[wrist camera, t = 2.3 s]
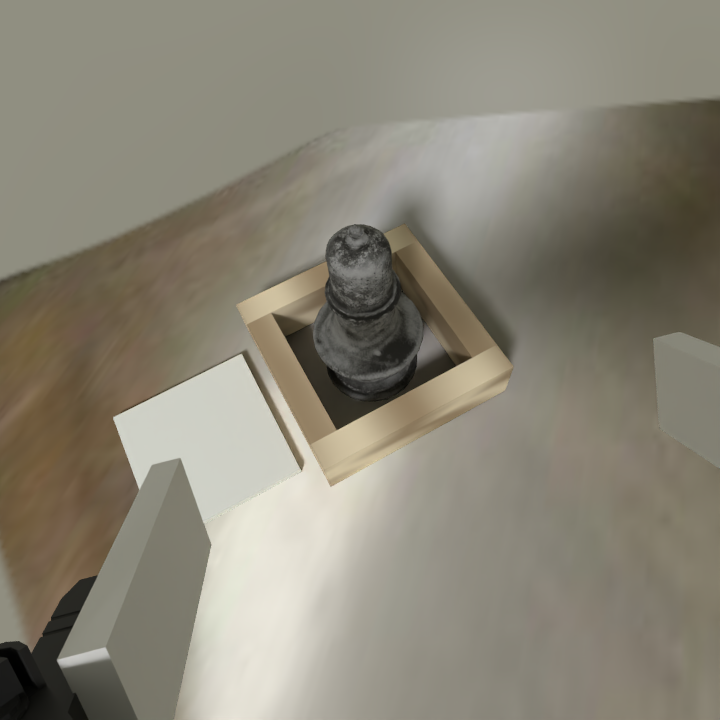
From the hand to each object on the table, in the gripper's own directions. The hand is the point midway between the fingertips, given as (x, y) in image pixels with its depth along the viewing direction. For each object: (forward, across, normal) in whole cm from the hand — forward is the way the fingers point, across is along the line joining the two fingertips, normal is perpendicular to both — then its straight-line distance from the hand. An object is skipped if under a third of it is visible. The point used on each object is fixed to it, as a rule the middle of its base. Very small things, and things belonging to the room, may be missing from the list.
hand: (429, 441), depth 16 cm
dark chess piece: (+18, 0, -4) cm, 19 cm away
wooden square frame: (+18, 0, -3) cm, 19 cm away
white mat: (+16, -10, -5) cm, 20 cm away
